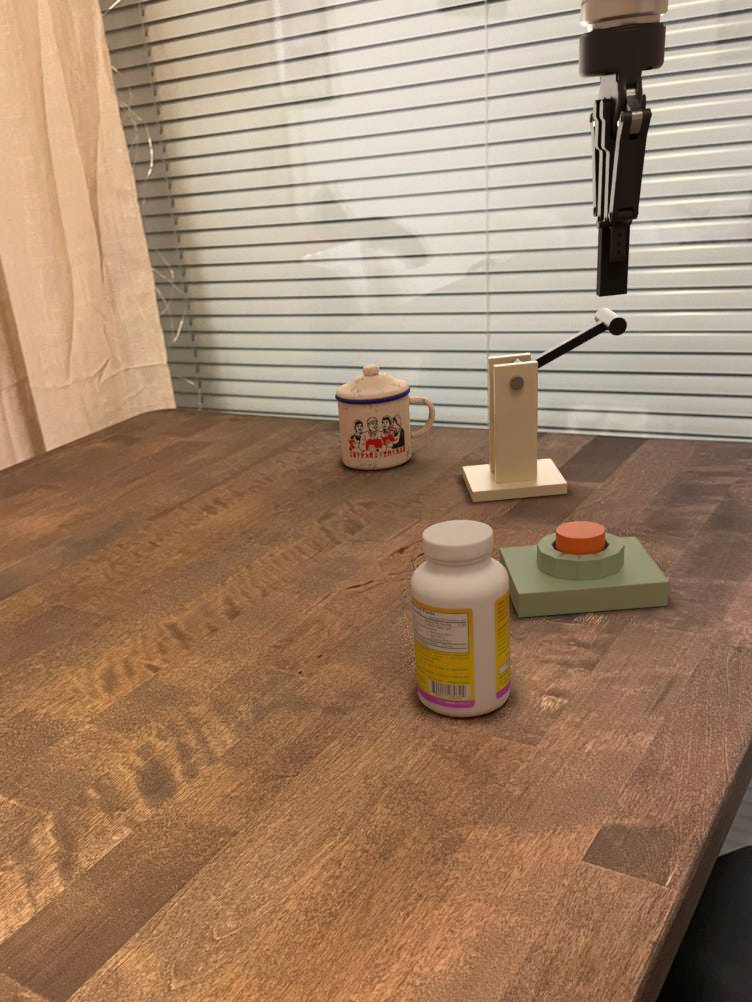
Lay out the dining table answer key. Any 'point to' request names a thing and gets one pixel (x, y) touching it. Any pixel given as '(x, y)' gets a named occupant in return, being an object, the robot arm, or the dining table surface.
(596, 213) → the robot arm
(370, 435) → the teacup with lid
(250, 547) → the dining table surface
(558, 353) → the black lever
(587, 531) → the button
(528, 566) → the button box
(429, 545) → the supplement bottle
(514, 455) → the lever stand
